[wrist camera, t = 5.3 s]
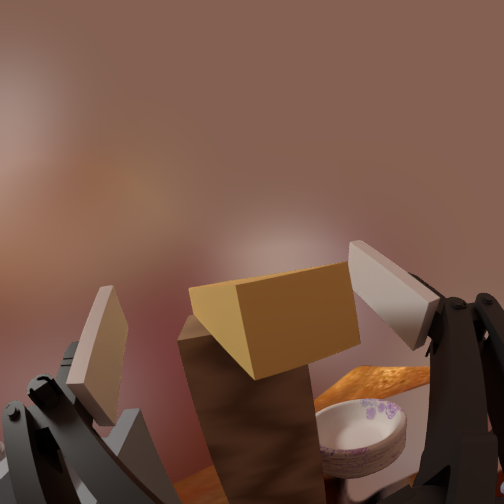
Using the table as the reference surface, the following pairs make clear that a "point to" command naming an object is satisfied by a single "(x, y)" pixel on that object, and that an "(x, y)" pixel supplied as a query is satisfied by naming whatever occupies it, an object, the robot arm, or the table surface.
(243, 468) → the walnut pedestal
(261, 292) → the ochre bar
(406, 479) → the table surface
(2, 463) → the grey u cradle
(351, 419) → the paper bowls
